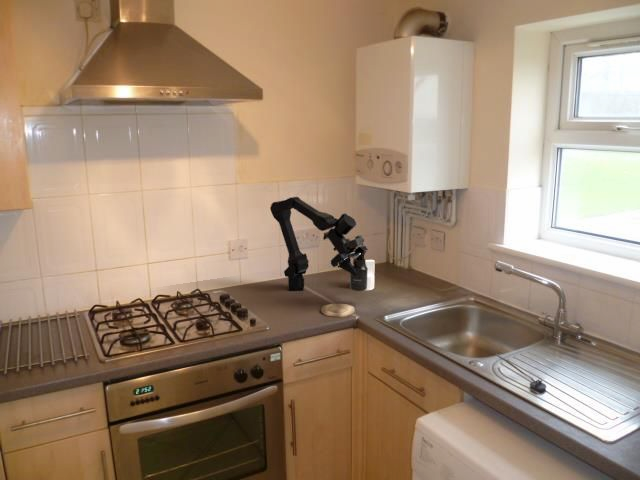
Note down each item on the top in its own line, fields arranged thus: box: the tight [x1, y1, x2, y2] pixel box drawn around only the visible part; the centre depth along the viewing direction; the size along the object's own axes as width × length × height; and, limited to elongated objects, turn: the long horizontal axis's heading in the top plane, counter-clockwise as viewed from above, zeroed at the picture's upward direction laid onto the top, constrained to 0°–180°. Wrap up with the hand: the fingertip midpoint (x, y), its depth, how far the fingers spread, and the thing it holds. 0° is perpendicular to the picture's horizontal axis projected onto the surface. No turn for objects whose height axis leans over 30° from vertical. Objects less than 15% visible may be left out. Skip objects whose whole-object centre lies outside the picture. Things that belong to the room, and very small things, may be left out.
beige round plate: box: [320, 303, 356, 318], centre depth 209 cm, size 13×13×1 cm
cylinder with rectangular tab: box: [365, 259, 376, 291], centre depth 237 cm, size 9×9×12 cm
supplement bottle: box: [349, 258, 368, 292], centre depth 213 cm, size 7×7×12 cm
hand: (361, 273), depth 213 cm, fingers closed on supplement bottle, 7 cm apart
